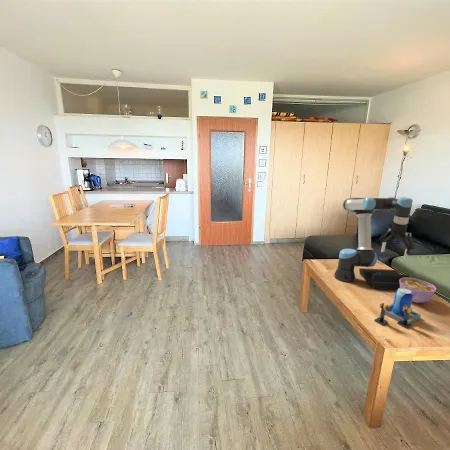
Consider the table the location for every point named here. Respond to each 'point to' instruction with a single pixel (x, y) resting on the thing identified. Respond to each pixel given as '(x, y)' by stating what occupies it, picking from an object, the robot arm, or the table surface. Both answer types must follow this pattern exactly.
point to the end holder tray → (411, 318)
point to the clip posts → (403, 324)
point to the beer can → (401, 301)
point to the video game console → (382, 278)
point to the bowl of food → (418, 289)
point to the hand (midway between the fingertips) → (393, 255)
